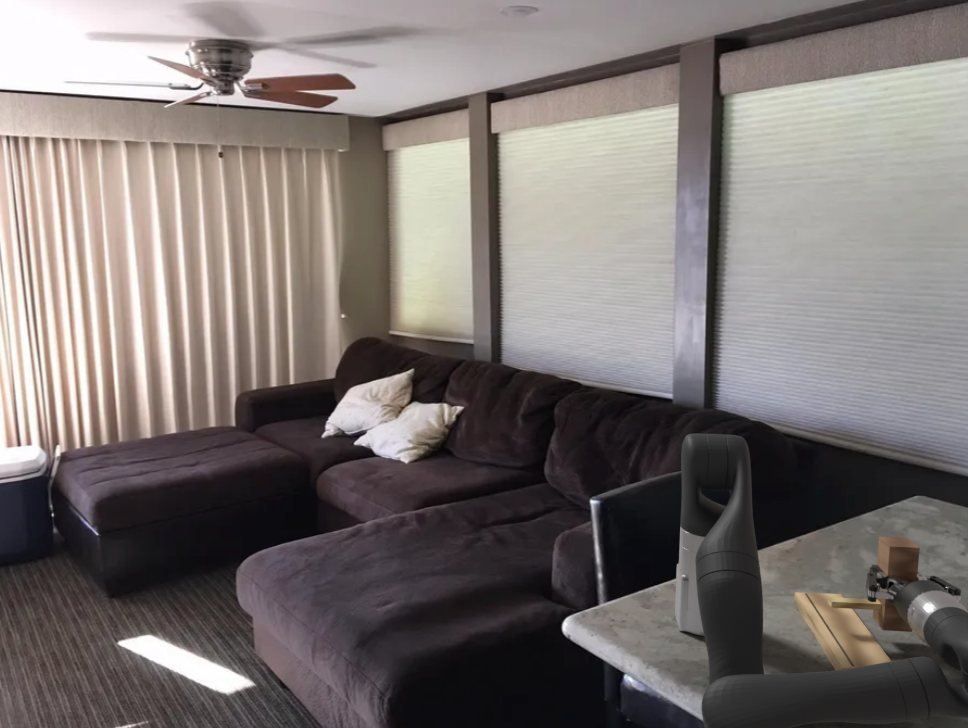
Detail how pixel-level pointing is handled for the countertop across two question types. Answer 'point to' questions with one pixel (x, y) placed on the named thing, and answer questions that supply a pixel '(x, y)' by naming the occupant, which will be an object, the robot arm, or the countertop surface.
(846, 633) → the board
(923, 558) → the countertop surface
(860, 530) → the countertop surface
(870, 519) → the countertop surface
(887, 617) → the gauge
